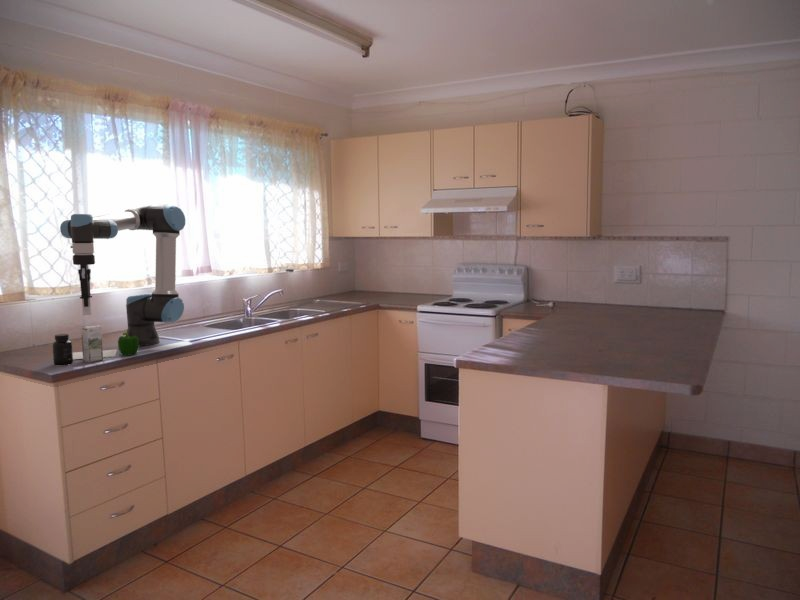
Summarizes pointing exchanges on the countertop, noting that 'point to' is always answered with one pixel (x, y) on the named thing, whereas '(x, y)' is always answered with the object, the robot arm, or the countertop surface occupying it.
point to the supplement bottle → (62, 350)
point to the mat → (105, 354)
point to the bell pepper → (128, 344)
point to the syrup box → (92, 343)
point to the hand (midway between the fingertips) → (87, 314)
